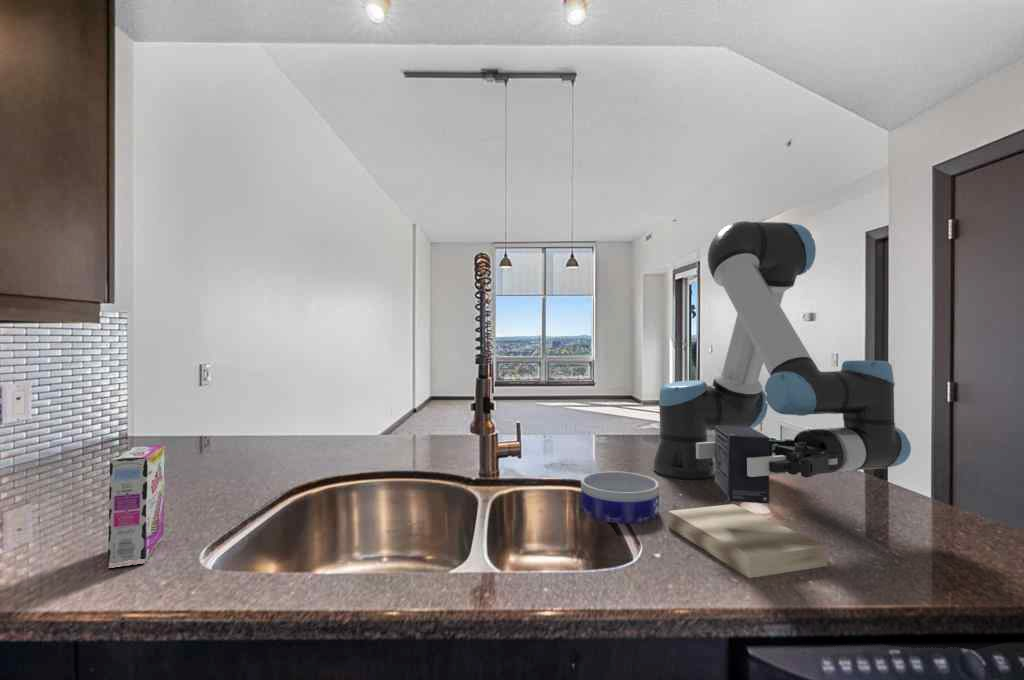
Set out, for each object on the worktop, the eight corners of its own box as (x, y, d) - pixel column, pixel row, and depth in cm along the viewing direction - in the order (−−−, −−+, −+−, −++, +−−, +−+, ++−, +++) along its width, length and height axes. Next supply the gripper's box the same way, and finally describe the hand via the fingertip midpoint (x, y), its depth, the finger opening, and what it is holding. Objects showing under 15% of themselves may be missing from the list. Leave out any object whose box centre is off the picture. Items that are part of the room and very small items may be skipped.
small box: (773, 505, 75) (771, 436, 75) (727, 502, 76) (726, 435, 76) (753, 486, 85) (752, 425, 85) (713, 484, 86) (712, 424, 87)
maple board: (668, 527, 89) (668, 511, 89) (733, 519, 92) (733, 503, 92) (749, 578, 69) (749, 557, 69) (827, 566, 73) (827, 545, 73)
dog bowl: (657, 529, 89) (657, 495, 89) (574, 519, 93) (574, 488, 94) (660, 503, 103) (660, 474, 103) (588, 496, 108) (588, 468, 108)
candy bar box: (147, 564, 75) (147, 457, 75) (106, 571, 73) (106, 460, 73) (166, 538, 85) (166, 443, 85) (130, 542, 83) (131, 446, 83)
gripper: (897, 491, 74) (779, 504, 68) (773, 457, 97) (677, 464, 91) (896, 441, 74) (778, 450, 68) (772, 419, 97) (677, 424, 91)
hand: (721, 458), depth 80 cm, fingers closed on small box, 12 cm apart
